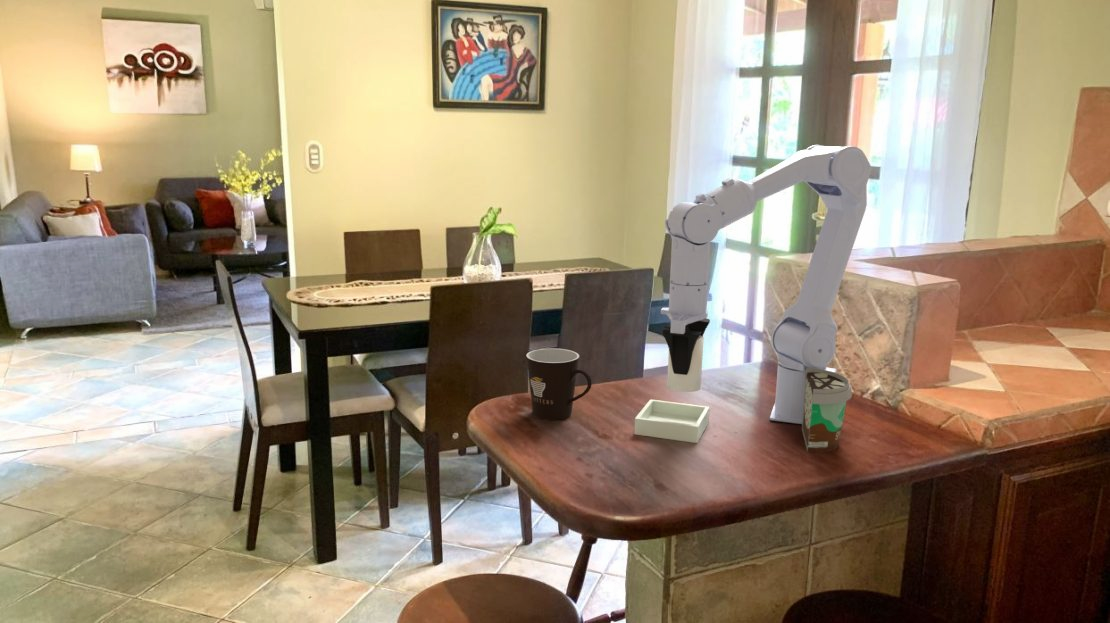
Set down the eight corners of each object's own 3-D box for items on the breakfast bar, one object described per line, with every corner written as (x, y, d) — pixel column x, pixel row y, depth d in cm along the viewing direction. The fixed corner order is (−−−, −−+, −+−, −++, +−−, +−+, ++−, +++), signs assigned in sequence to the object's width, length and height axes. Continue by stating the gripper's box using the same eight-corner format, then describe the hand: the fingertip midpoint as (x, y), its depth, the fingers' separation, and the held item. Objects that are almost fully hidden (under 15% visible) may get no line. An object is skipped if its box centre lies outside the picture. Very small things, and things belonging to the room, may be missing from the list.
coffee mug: (518, 408, 138) (518, 351, 136) (565, 402, 141) (566, 346, 139) (545, 431, 128) (545, 370, 125) (594, 424, 131) (596, 364, 129)
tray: (708, 422, 133) (709, 406, 132) (697, 443, 124) (698, 426, 123) (649, 414, 136) (650, 399, 135) (634, 434, 127) (634, 418, 126)
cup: (703, 384, 129) (706, 334, 127) (697, 393, 124) (700, 342, 123) (670, 380, 131) (673, 331, 129) (663, 389, 126) (666, 339, 124)
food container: (852, 459, 118) (859, 393, 116) (808, 455, 119) (813, 390, 117) (841, 429, 130) (846, 369, 128) (801, 426, 131) (805, 366, 129)
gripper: (672, 272, 132) (669, 354, 135) (651, 288, 119) (648, 378, 122) (716, 276, 130) (712, 358, 133) (700, 292, 116) (695, 384, 119)
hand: (684, 368), depth 127 cm, fingers closed on cup, 5 cm apart
